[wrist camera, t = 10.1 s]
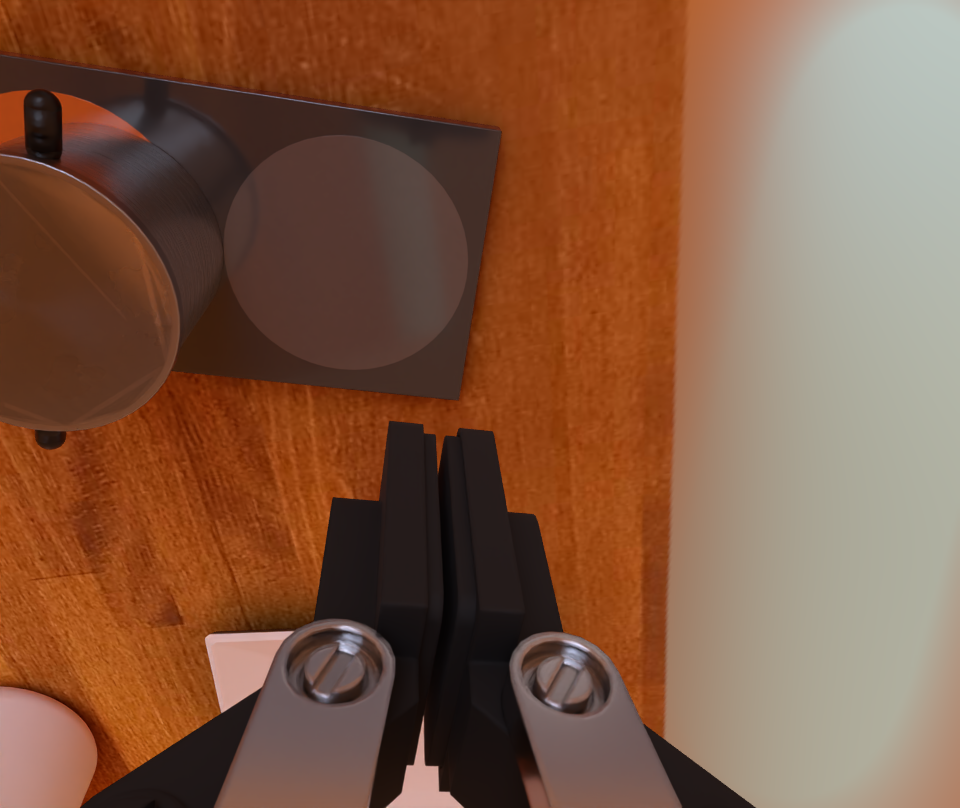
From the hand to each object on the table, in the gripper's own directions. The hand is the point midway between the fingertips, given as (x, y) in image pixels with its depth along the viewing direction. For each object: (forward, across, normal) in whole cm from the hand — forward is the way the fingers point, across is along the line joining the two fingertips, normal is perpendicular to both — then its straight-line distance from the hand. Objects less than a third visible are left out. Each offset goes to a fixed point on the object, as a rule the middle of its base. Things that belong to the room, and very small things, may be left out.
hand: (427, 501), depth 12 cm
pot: (+20, +12, +4) cm, 24 cm away
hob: (+21, +8, +3) cm, 23 cm away
